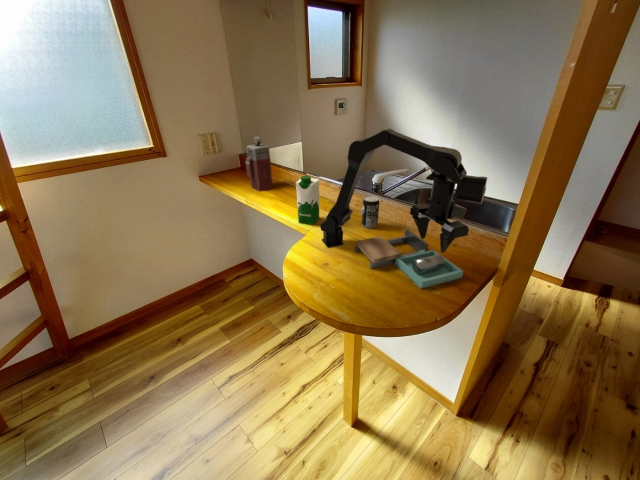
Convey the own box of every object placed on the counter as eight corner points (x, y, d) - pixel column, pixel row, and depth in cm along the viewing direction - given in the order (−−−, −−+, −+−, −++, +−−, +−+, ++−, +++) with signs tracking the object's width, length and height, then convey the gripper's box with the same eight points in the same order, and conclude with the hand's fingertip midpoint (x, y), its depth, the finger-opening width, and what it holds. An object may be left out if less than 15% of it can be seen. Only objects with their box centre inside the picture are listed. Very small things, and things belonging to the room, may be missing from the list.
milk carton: (295, 223, 128) (293, 178, 118) (303, 215, 136) (301, 171, 126) (315, 226, 125) (314, 179, 116) (321, 217, 133) (321, 173, 123)
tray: (421, 289, 88) (422, 282, 86) (394, 264, 99) (395, 258, 98) (461, 278, 92) (463, 271, 91) (432, 255, 104) (433, 249, 102)
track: (371, 269, 97) (372, 255, 95) (354, 251, 107) (355, 239, 105) (426, 256, 103) (428, 243, 101) (406, 240, 113) (407, 229, 111)
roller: (419, 276, 92) (422, 265, 90) (411, 268, 96) (413, 257, 93) (443, 270, 95) (446, 259, 93) (433, 263, 99) (436, 251, 96)
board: (373, 267, 96) (374, 259, 95) (355, 248, 107) (356, 241, 106) (400, 261, 99) (401, 253, 98) (380, 243, 110) (380, 236, 109)
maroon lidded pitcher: (247, 188, 170) (240, 137, 156) (264, 184, 176) (259, 134, 163) (255, 192, 164) (249, 139, 150) (272, 188, 170) (268, 136, 157)
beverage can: (365, 221, 130) (366, 194, 124) (379, 224, 127) (382, 197, 121) (358, 226, 124) (360, 199, 119) (373, 230, 121) (376, 202, 116)
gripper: (491, 203, 78) (477, 254, 86) (442, 183, 94) (434, 228, 101) (456, 210, 75) (445, 262, 82) (412, 188, 90) (405, 233, 98)
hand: (432, 245), depth 91 cm, fingers open, 9 cm apart
